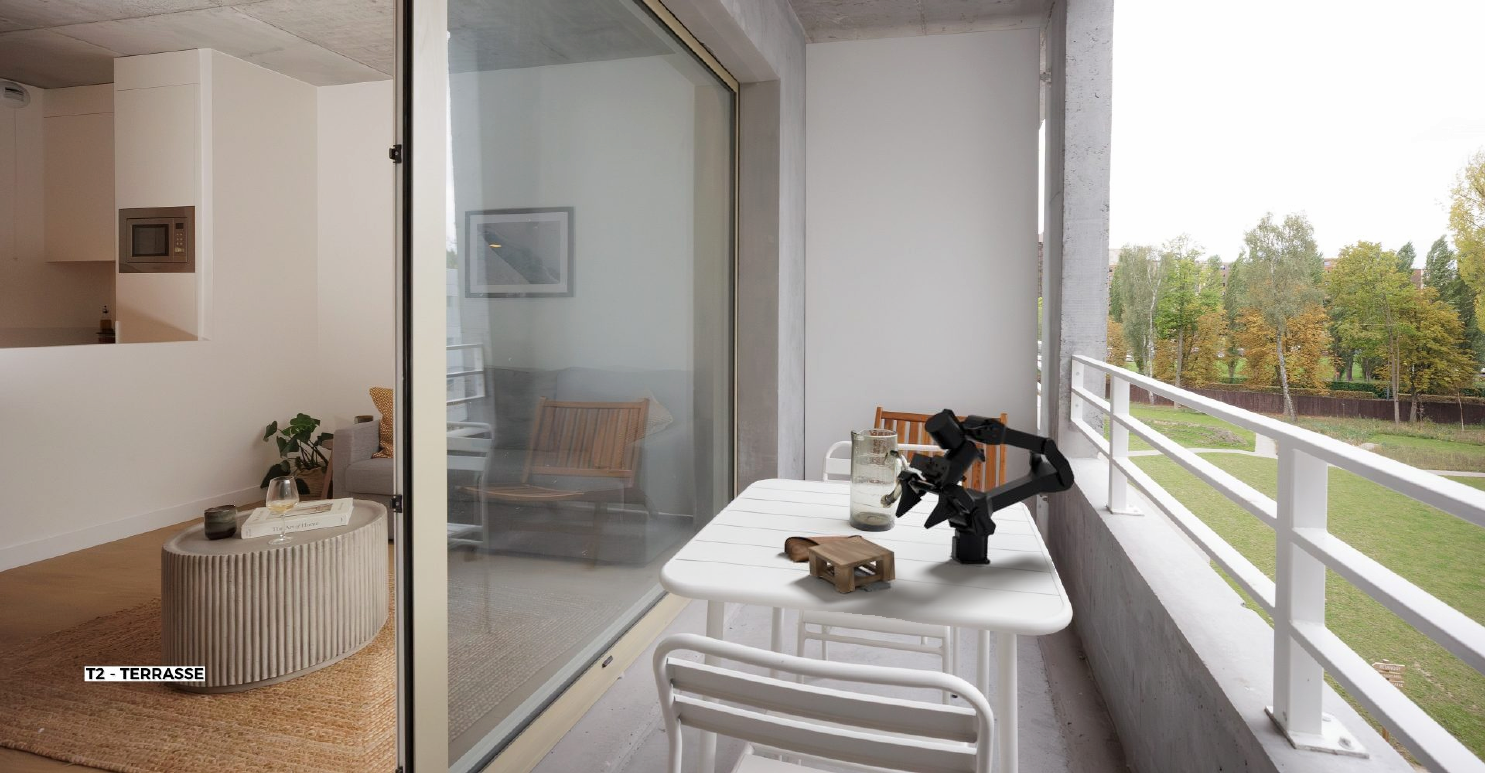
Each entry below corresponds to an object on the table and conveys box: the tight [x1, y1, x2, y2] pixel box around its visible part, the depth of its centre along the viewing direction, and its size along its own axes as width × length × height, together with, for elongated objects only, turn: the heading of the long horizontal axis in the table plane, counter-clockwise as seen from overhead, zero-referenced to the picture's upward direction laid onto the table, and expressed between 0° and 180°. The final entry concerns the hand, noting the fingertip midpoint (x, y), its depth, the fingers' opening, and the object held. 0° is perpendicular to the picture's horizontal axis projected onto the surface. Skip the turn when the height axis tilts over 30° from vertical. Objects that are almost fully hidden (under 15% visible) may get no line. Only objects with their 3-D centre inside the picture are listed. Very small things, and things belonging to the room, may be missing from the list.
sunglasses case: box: [783, 534, 863, 564], centre depth 168 cm, size 18×7×7 cm, turn 99°
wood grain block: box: [808, 535, 896, 594], centre depth 152 cm, size 6×12×12 cm
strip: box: [832, 567, 891, 592], centre depth 153 cm, size 5×14×1 cm, turn 26°
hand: (910, 521), depth 158 cm, fingers open, 9 cm apart
